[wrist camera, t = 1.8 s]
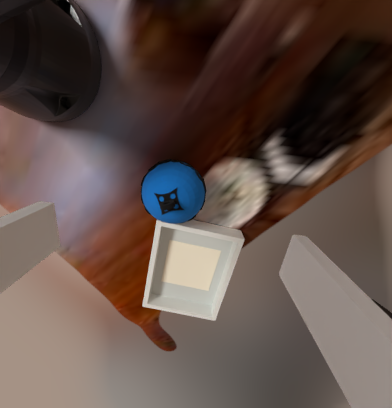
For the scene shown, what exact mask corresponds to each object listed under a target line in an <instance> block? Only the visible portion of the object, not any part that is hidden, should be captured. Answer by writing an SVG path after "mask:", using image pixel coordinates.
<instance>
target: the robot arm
mask: <svg viewBox="0 0 392 408" xmlns="http://www.w3.org/2000/svg"><path fill="white" fill-rule="evenodd" d="M100 78H101V58H100V52H99V47H98V43H97V40H96V37H95V34H94V32H93V30H92V27H91V25H90V23H89V22H88V20H87V18H86V16H85V15H84V13H83V12H82V10H81V9H80V8H79V7H78V5H77V4H76V3H75V2H74V1H73V0H0V105H2V106H4V107H6V108H8V109H10V110H12V111H14V112H16V113H18V114H20V115H23V116H26V117H29V118H32V119H36V120H43V121H53V122H61V121H67V120H70V119H73V118H75V117H77V116H79V115H80V114H82V113H83V112H84V111H85V110H86V109H87V108H88V107H89V106H90V105H91V103H92V102H93V100H94V98H95V96H96V94H97V91H98V88H99V84H100ZM59 247H60V240H59V233H58V227H57V220H56V214H55V207H54V203H49V202H41V201H39V202H37V203H34V204H32V205H29V206H27V207H24V208H22V209H20V210H17V211H15V212H12V213H10V214H7V215H5V216H2V217H0V293H2V292H3V291H4V290H6V289H7V288H8V287H9V286H11V285H12V284H13V283H14V282H16V281H17V280H18V279H20V278H21V277H22V276H23V275H25V274H26V273H27V272H28V271H30V270H31V269H32V268H33V267H35V266H36V265H37V264H39V263H40V262H41V261H42V260H44V259H45V258H46V257H48V256H49V255H50V254H51V253H53V252H54V251H55V250H56V249H58V248H59ZM279 276H280V278H281V280H282V281H283V283H284V285H285V287H286V289H287V291H288V292H289V294H290V296H291V298H292V299H293V301H294V303H295V305H296V307H297V309H298V311H299V313H300V314H301V316H302V318H303V320H304V322H305V323H306V325H307V327H308V329H309V331H310V333H311V334H312V336H313V338H314V340H315V342H316V344H317V345H318V347H319V349H320V351H321V353H322V355H323V356H324V358H325V360H326V362H327V364H328V366H329V367H330V369H331V371H332V373H333V375H334V377H335V378H336V380H337V382H338V384H339V386H340V387H341V389H342V391H343V393H344V395H345V397H346V398H347V400H348V402H349V404H350V406H351V407H352V408H392V313H391V312H390V311H388V310H387V309H385V308H384V307H383V306H381V305H380V304H378V303H377V302H376V301H374V300H373V299H370V298H369V297H368V296H367V295H366V294H365V293H364V292H363V291H362V290H361V289H360V288H359V287H358V286H357V285H356V284H355V283H354V282H353V281H352V280H351V279H350V278H349V277H348V276H347V275H346V274H345V273H344V272H343V271H341V270H340V268H339V267H337V265H335V264H334V263H333V262H332V261H331V260H330V259H329V258H328V257H327V256H326V255H325V254H324V253H323V252H322V251H321V250H320V249H319V248H318V247H317V246H316V245H315V244H314V243H313V242H312V241H311V240H310V239H309V238H308V237H307V236H301V235H292V238H291V241H290V244H289V246H288V249H287V252H286V255H285V258H284V260H283V263H282V266H281V269H280V272H279Z"/></svg>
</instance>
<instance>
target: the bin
mask: <svg viewBox="0 0 392 408" xmlns="http://www.w3.org/2000/svg"><path fill="white" fill-rule="evenodd" d="M244 240H245V239H244V237H243V234H242V232H241V230H237V229H233V228H228V227H224V226H219V225H215V224H210V223H206V222H201V221H197V220H190V221H186V222H184V223H181V224H178V223H177V224H170V223H165V222H161V221H160V220H158V219H157V222H156V228H155V234H154V240H153V246H152V252H151V258H150V264H149V270H148V276H147V282H146V287H145V293H144V299H143V305H142V306H143V307H148V308H153V309H158V310H163V311H168V312H174V313H178V314H183V315H188V316H193V317H199V318H204V319H209V320H214V321H215V320H216V317H217V314H218V312H219V309H220V306H221V303H222V301H223V298H224V295H225V292H226V289H227V287H228V284H229V281H230V278H231V276H232V273H233V270H234V268H235V265H236V262H237V259H238V256H239V253H240V251H241V248H242V246H243V243H244Z"/></svg>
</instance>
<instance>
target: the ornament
mask: <svg viewBox="0 0 392 408" xmlns="http://www.w3.org/2000/svg"><path fill="white" fill-rule="evenodd" d="M141 186H142V187H141V200H142V203H143V204H144V205H145V210H146V211H147V212H148V213H149V214H150V215H152V216H153V217H155V218H156V219H158V220H160V221H161V222H165V223H170V224H177V223H178V224H181V223H184V222H186V221H190V220H192V219H193V218H194V217H195V216H196V214H197V213H198V212H199V211H200V210H201V209H202V207H203V205H204V202H205V194H206V187H205V182H204V179H203V178H202V177H201V175H200V174H199V172H198V171H197V170H195V169H194V168H193V167H192V166H191V165H190V164H188V163H186V162H183V161H178V160H172V159H168V160H164V161H161V162H158V163H157V164H156V165H154V166H153V167H151V168H150V169H149V170H148V173H147V174H146V175H145V176H144V178H143V180H142V183H141Z"/></svg>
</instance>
